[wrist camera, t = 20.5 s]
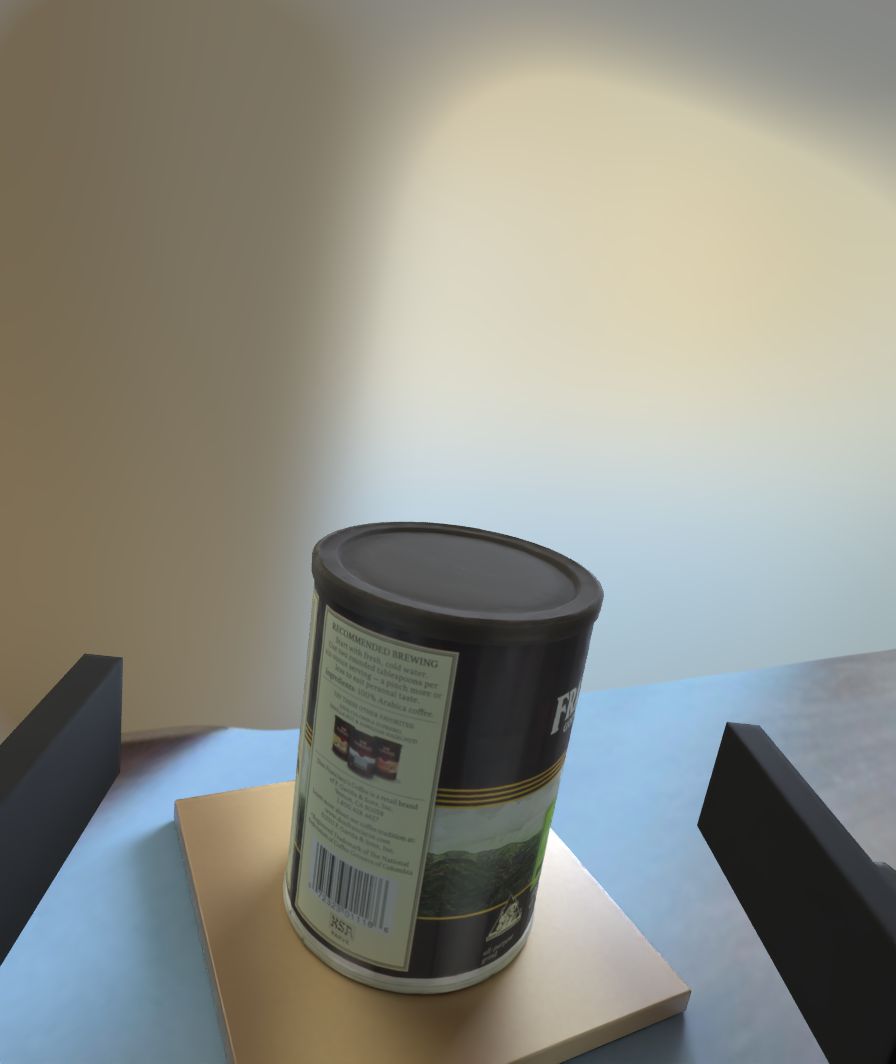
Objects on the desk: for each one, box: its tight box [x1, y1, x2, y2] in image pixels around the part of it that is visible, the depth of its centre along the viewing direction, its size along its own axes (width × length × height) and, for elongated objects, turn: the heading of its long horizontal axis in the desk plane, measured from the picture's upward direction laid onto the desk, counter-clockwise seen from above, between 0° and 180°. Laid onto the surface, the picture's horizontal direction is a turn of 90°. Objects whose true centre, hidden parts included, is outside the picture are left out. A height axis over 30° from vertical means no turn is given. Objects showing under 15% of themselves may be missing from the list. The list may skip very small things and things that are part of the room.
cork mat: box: [174, 780, 691, 1064], centre depth 31 cm, size 16×16×1 cm
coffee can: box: [283, 522, 604, 994], centre depth 28 cm, size 10×10×14 cm
